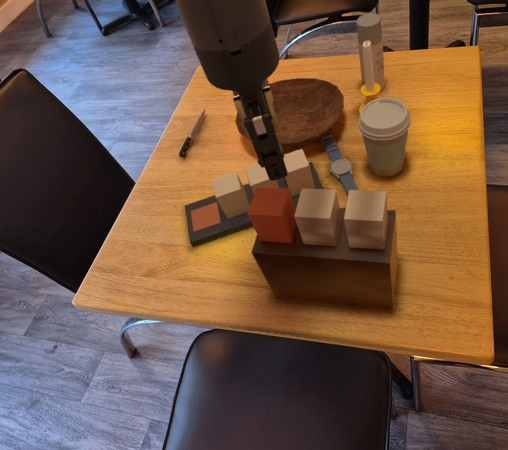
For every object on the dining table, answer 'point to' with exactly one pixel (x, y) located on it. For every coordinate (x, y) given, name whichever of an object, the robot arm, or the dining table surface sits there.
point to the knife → (192, 135)
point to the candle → (368, 76)
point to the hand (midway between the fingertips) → (272, 152)
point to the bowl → (303, 110)
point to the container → (371, 32)
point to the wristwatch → (339, 165)
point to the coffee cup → (385, 134)
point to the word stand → (335, 251)
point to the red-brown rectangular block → (273, 214)
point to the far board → (233, 221)
